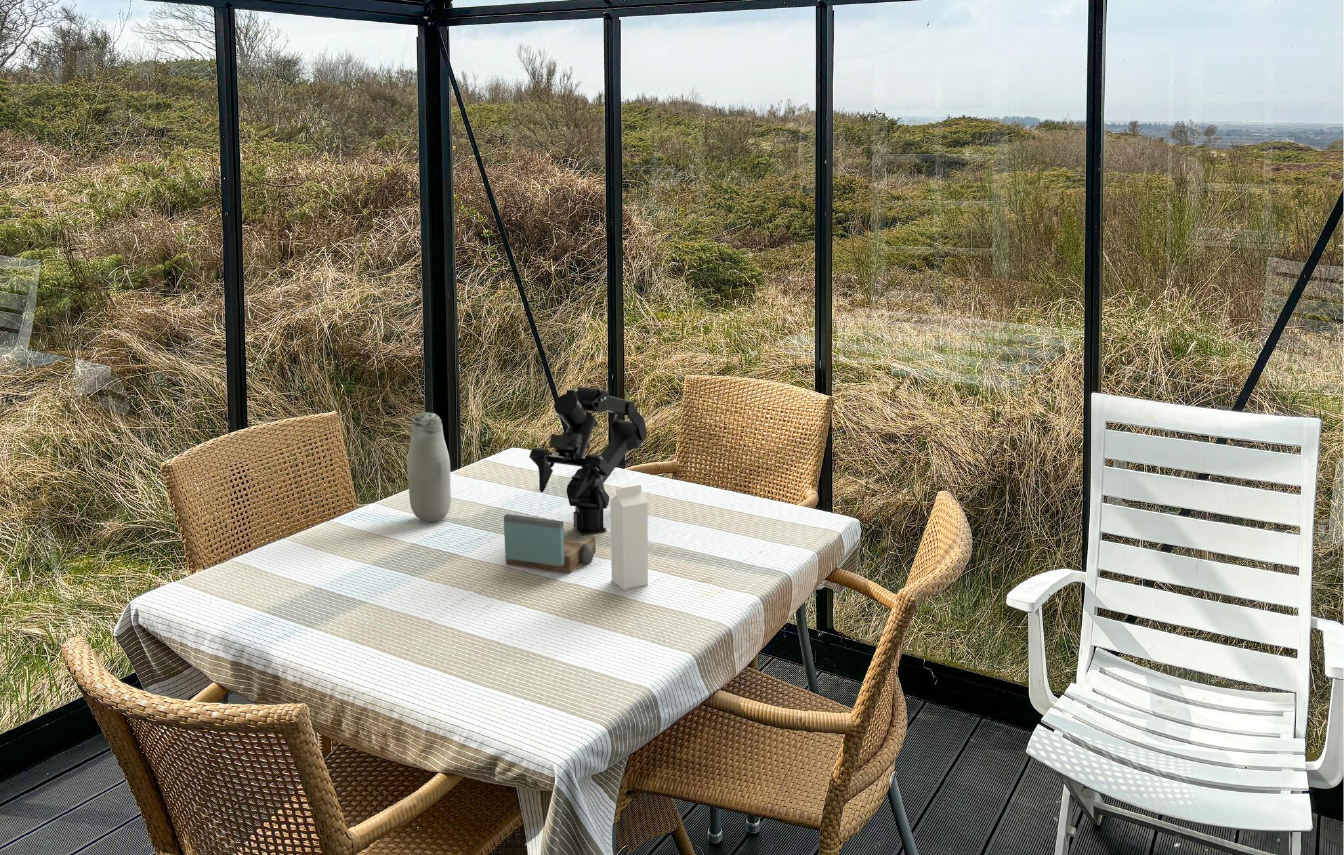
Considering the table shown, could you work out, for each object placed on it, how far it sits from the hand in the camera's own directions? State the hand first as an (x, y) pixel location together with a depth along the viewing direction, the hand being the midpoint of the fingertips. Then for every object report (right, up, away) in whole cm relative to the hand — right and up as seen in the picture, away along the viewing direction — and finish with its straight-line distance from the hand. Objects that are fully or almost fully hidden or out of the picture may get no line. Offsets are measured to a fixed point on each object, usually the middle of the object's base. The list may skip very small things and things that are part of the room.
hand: (558, 494), depth 268 cm
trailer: (-1, -15, -2) cm, 15 cm away
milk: (+17, -19, -17) cm, 30 cm away
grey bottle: (-34, -8, +24) cm, 42 cm away
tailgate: (-5, -15, -11) cm, 19 cm away
